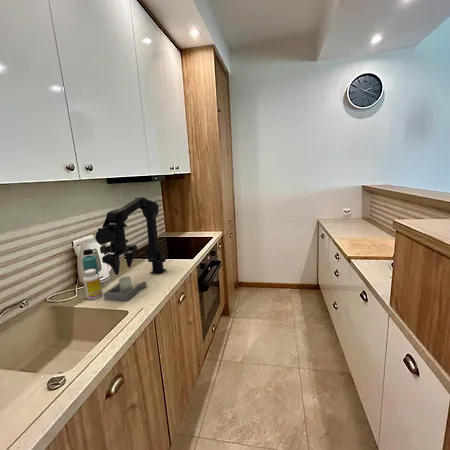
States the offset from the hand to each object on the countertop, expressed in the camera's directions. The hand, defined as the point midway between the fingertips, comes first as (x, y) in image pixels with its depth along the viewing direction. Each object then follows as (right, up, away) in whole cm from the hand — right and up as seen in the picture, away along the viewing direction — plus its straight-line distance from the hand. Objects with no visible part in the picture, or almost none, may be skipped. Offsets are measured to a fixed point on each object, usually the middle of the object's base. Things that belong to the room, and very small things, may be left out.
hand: (123, 270), depth 121 cm
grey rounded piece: (+1, -11, +2) cm, 11 cm away
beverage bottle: (-18, -10, +9) cm, 23 cm away
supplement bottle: (-13, -12, 0) cm, 18 cm away
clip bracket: (0, -11, +1) cm, 11 cm away
